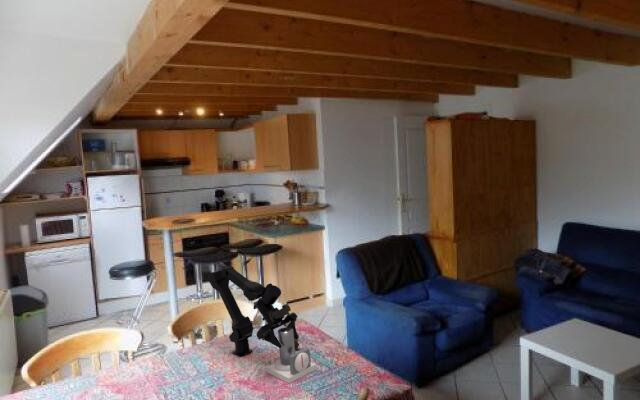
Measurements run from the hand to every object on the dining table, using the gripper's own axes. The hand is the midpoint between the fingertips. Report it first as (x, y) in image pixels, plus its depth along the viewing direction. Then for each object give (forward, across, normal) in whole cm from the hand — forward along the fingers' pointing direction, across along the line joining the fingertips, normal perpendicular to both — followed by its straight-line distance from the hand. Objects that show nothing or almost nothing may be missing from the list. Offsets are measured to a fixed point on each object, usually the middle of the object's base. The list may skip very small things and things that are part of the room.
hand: (289, 343), depth 167 cm
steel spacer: (+5, 0, +7) cm, 8 cm away
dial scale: (+8, 0, +8) cm, 11 cm away
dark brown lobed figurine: (-4, +19, +20) cm, 27 cm away
